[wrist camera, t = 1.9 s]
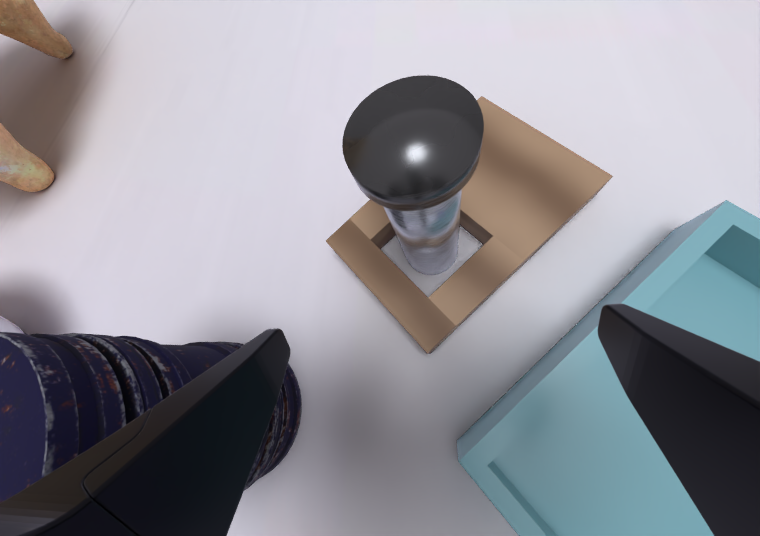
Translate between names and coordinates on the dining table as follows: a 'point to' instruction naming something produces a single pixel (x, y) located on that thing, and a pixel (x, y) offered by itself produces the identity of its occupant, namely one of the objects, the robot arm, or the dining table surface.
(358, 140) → the pin
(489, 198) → the block
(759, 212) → the dining table surface
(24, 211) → the dining table surface
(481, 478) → the tray
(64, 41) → the decorative bowl
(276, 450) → the storage jar
